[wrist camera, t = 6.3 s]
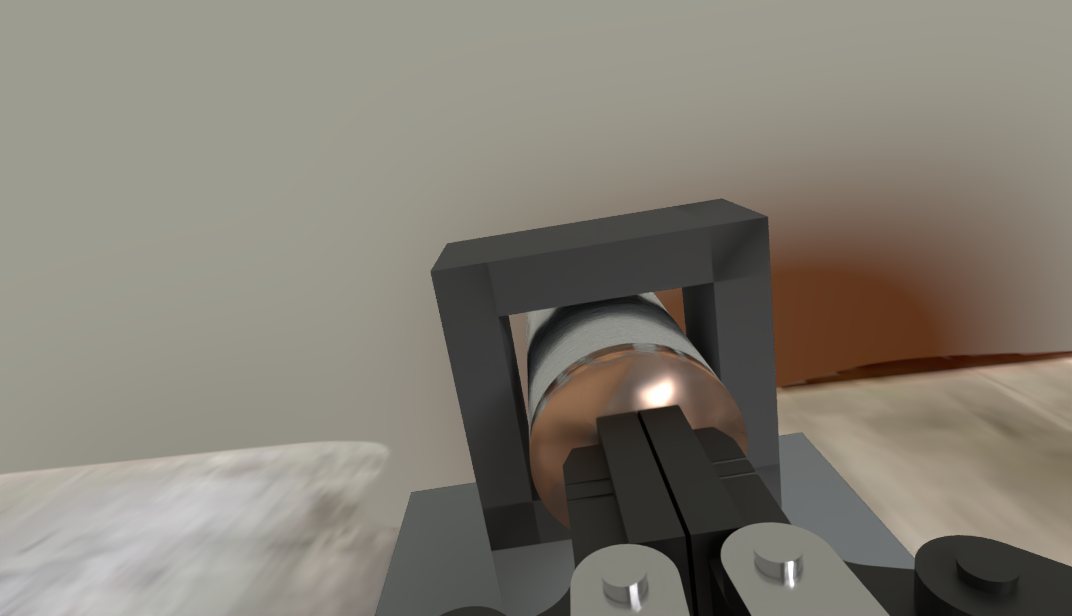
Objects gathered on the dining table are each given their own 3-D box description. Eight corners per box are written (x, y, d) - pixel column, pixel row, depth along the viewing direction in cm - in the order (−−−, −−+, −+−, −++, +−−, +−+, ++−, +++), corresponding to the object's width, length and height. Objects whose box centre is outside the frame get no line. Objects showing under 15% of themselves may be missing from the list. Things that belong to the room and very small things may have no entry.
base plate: (802, 464, 25) (798, 340, 24) (1005, 712, 15) (1021, 518, 13) (419, 523, 26) (389, 404, 24) (347, 805, 15) (285, 628, 13)
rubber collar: (739, 443, 17) (721, 198, 15) (782, 507, 15) (767, 216, 13) (496, 480, 18) (447, 243, 16) (491, 551, 15) (430, 271, 13)
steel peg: (644, 337, 22) (631, 229, 21) (753, 531, 12) (740, 338, 11) (535, 354, 22) (516, 247, 21) (547, 561, 12) (513, 373, 11)
